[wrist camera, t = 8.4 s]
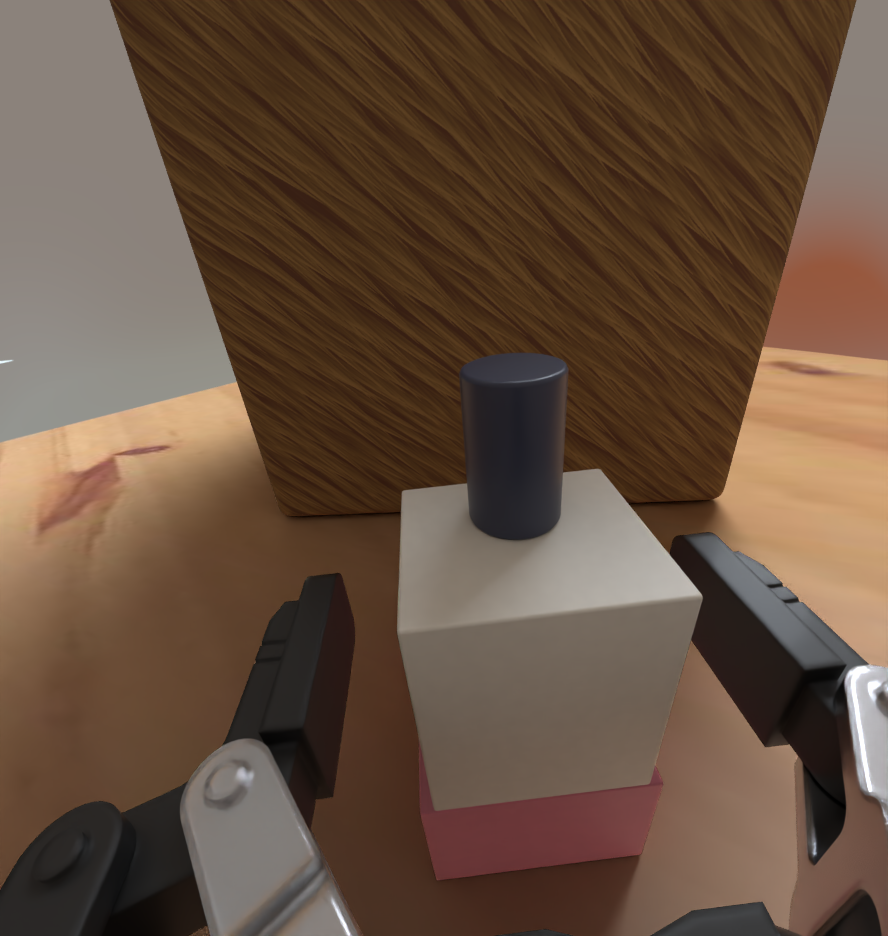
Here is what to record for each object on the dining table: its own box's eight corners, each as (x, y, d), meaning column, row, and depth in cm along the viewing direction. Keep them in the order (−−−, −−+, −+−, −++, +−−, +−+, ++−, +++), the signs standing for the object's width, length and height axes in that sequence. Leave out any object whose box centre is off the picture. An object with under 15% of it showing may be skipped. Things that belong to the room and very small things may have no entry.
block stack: (642, 855, 11) (786, 402, 5) (435, 881, 11) (331, 452, 5) (540, 581, 19) (548, 296, 13) (424, 595, 19) (382, 314, 13)
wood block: (602, 370, 44) (631, 48, 32) (726, 504, 23) (958, -326, 11) (368, 386, 47) (315, 91, 35) (278, 521, 25) (51, -142, 13)
